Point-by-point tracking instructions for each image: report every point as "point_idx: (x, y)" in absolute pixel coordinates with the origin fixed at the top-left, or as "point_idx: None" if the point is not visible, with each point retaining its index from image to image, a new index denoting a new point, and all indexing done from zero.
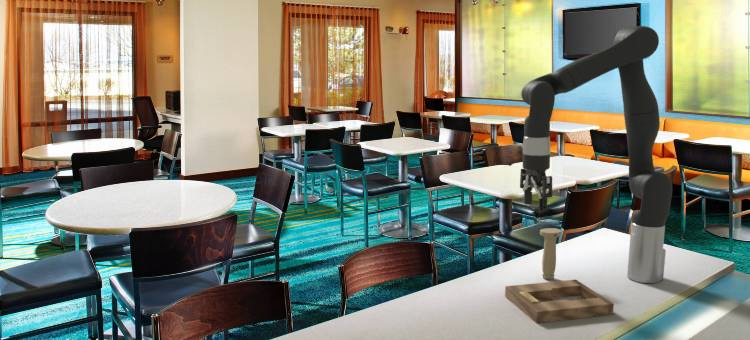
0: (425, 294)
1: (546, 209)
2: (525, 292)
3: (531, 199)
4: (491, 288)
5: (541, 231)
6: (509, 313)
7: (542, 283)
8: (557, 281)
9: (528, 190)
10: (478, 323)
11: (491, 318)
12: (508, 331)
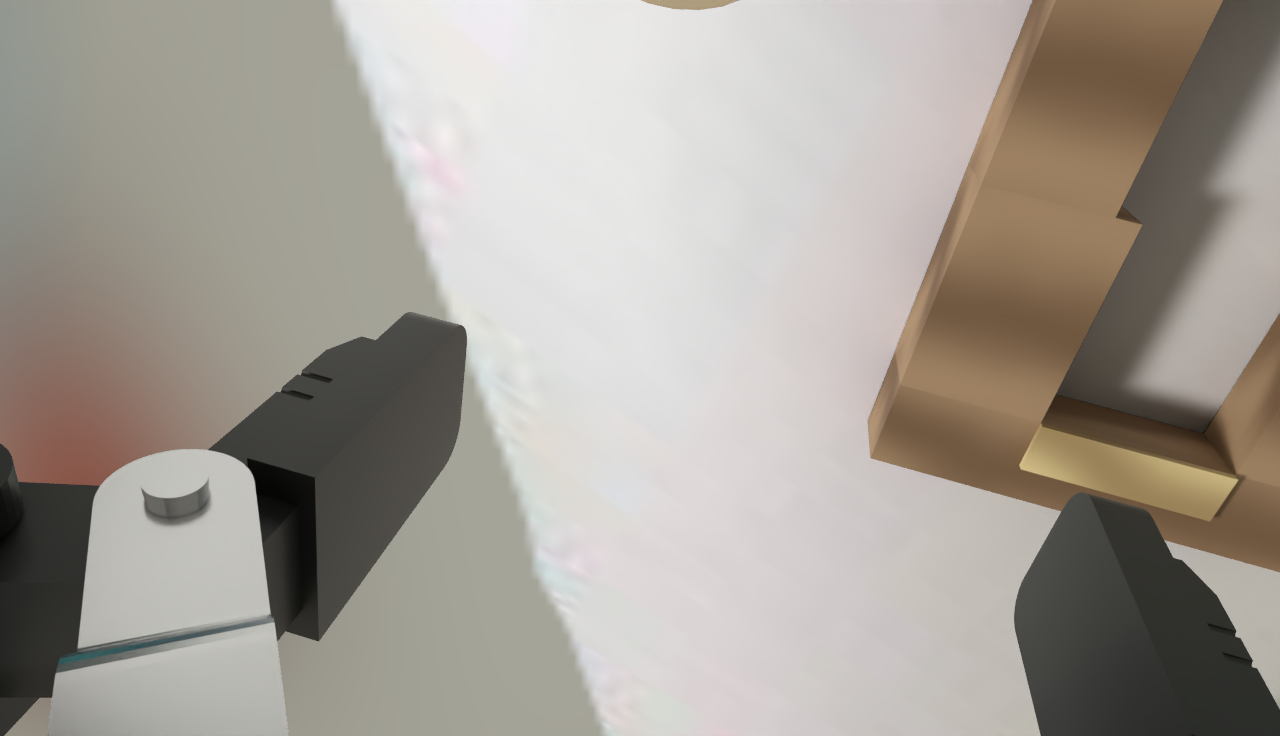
0: (627, 698)
1: (1183, 563)
2: (1057, 444)
3: (420, 378)
4: (716, 402)
5: (665, 3)
6: None
7: (993, 200)
8: (1042, 44)
9: (272, 601)
10: None
11: None
12: None
